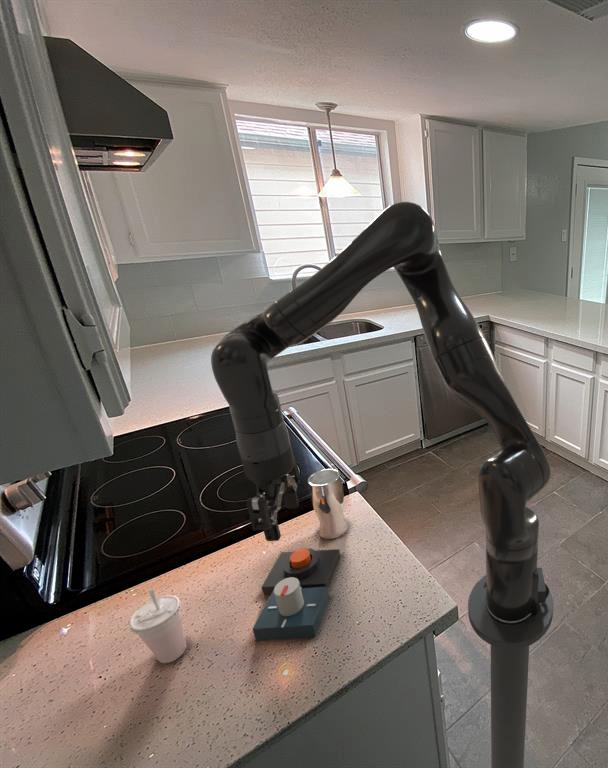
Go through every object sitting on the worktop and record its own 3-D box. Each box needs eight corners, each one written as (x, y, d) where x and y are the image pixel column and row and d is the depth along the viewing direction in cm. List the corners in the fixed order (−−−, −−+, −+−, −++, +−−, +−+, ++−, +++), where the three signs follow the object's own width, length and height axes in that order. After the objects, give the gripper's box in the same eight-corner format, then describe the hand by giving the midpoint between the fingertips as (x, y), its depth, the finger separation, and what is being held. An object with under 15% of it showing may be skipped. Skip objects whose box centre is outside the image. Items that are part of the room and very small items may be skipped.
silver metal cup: (330, 545, 92) (319, 490, 86) (311, 533, 96) (299, 479, 90) (355, 526, 98) (347, 474, 92) (337, 516, 101) (327, 464, 95)
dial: (284, 598, 76) (278, 577, 74) (307, 595, 76) (301, 574, 74) (275, 617, 72) (269, 595, 70) (299, 615, 73) (294, 593, 71)
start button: (313, 554, 85) (312, 548, 84) (307, 568, 82) (305, 561, 81) (295, 555, 85) (294, 549, 84) (288, 569, 81) (286, 562, 81)
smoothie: (203, 646, 70) (179, 586, 65) (158, 679, 65) (129, 617, 60) (185, 628, 73) (161, 569, 68) (141, 658, 68) (111, 598, 63)
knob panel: (330, 597, 80) (327, 585, 78) (315, 637, 72) (312, 624, 71) (276, 600, 79) (273, 588, 78) (255, 641, 71) (251, 629, 70)
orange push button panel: (340, 556, 89) (338, 542, 88) (327, 591, 81) (323, 576, 79) (283, 559, 88) (279, 545, 87) (263, 595, 80) (259, 580, 78)
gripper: (261, 427, 75) (278, 499, 82) (218, 472, 62) (243, 553, 69) (303, 426, 76) (317, 497, 82) (270, 470, 63) (290, 550, 69)
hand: (283, 522), depth 76 cm, fingers open, 8 cm apart
